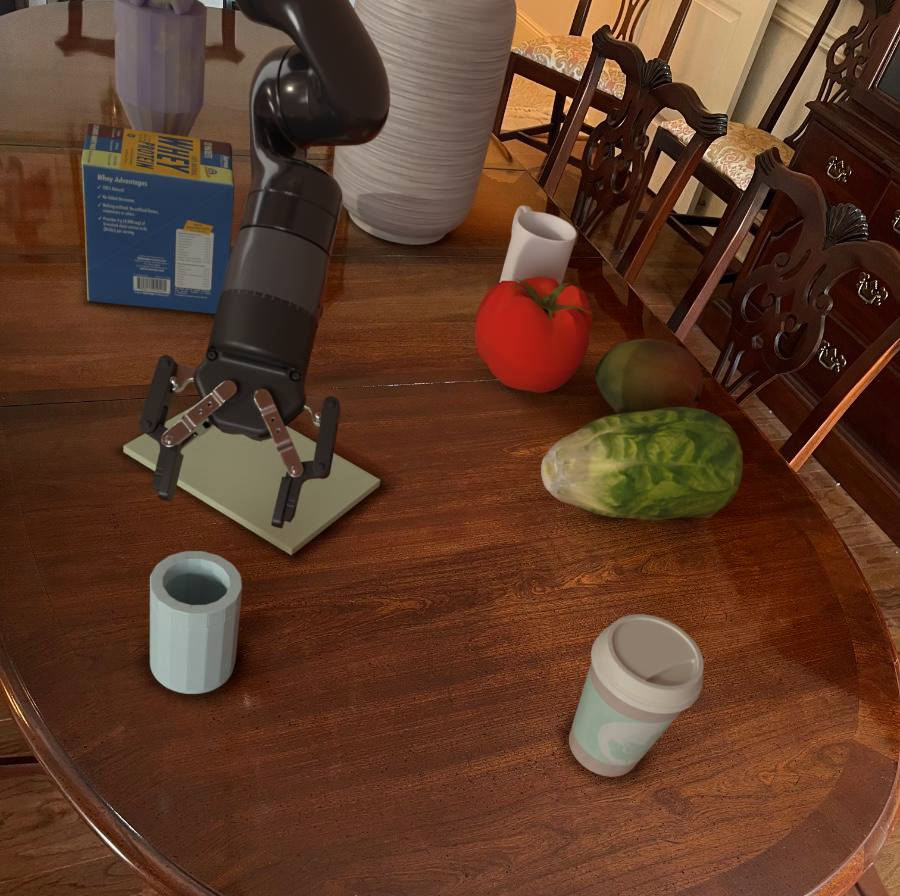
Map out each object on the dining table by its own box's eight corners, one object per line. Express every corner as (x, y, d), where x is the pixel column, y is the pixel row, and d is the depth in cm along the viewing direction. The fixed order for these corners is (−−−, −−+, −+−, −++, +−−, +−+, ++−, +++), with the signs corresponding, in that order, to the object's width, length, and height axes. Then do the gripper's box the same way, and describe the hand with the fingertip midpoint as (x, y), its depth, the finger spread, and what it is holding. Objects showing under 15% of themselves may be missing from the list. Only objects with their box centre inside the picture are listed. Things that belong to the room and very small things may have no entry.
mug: (562, 317, 130) (586, 243, 123) (508, 316, 127) (530, 239, 120) (529, 271, 138) (550, 198, 131) (477, 268, 135) (496, 193, 128)
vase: (360, 175, 148) (400, -87, 125) (484, 221, 146) (548, -36, 123) (302, 220, 134) (335, -66, 111) (439, 272, 132) (501, -8, 109)
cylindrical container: (131, 664, 76) (130, 582, 70) (189, 619, 80) (193, 538, 74) (195, 708, 74) (200, 627, 68) (251, 660, 79) (259, 580, 72)
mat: (123, 452, 93) (123, 445, 92) (222, 395, 102) (223, 389, 102) (291, 555, 88) (292, 549, 87) (379, 486, 98) (380, 479, 97)
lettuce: (511, 476, 103) (541, 386, 96) (677, 469, 111) (717, 385, 103) (553, 552, 96) (589, 460, 88) (727, 538, 104) (774, 453, 96)
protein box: (92, 256, 116) (86, 121, 105) (226, 271, 120) (233, 142, 109) (85, 302, 109) (79, 162, 98) (228, 316, 113) (236, 183, 102)
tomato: (494, 412, 111) (521, 320, 103) (448, 343, 120) (470, 252, 111) (594, 407, 116) (627, 319, 108) (543, 341, 125) (570, 254, 117)
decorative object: (155, 226, 124) (156, -47, 103) (101, 192, 127) (91, -79, 107) (216, 209, 131) (229, -51, 110) (163, 176, 134) (165, -81, 113)
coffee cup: (558, 786, 76) (608, 689, 68) (547, 700, 82) (592, 601, 74) (662, 796, 78) (723, 703, 70) (643, 711, 84) (698, 615, 76)
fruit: (664, 463, 111) (698, 389, 104) (566, 415, 114) (593, 339, 107) (695, 420, 119) (729, 348, 112) (603, 376, 122) (630, 303, 115)
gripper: (166, 264, 70) (113, 485, 70) (362, 313, 71) (310, 532, 71) (187, 297, 78) (139, 497, 77) (363, 341, 79) (317, 539, 78)
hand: (221, 513), depth 74 cm, fingers open, 8 cm apart
